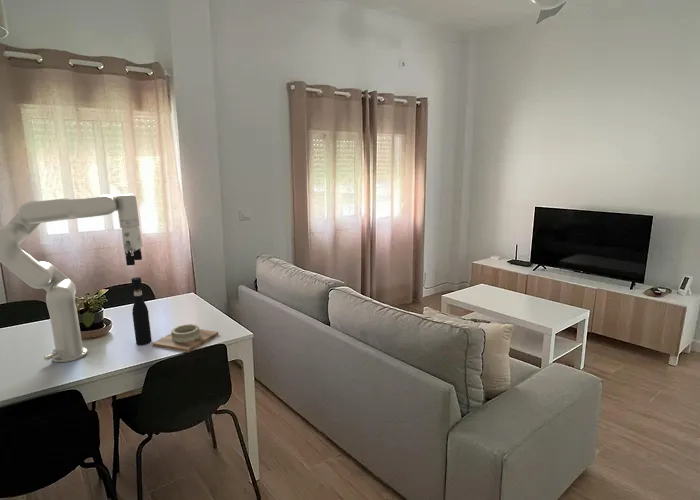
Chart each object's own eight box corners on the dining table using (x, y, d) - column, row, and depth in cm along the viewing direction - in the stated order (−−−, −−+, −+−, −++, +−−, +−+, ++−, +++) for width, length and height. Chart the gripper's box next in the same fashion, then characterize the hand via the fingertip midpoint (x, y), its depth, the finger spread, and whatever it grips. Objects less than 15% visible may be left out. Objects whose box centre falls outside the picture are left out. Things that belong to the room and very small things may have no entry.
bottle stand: (188, 352, 185) (187, 340, 184) (152, 346, 192) (151, 334, 191) (218, 334, 203) (217, 323, 202) (184, 329, 210) (183, 319, 209)
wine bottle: (147, 345, 193) (139, 280, 187) (133, 345, 193) (125, 280, 187) (154, 339, 199) (146, 276, 193) (140, 339, 200) (132, 276, 193)
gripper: (132, 226, 177) (137, 266, 181) (144, 220, 194) (149, 257, 198) (112, 227, 176) (118, 267, 180) (127, 221, 193) (132, 258, 197)
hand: (134, 262), depth 189 cm, fingers open, 9 cm apart
